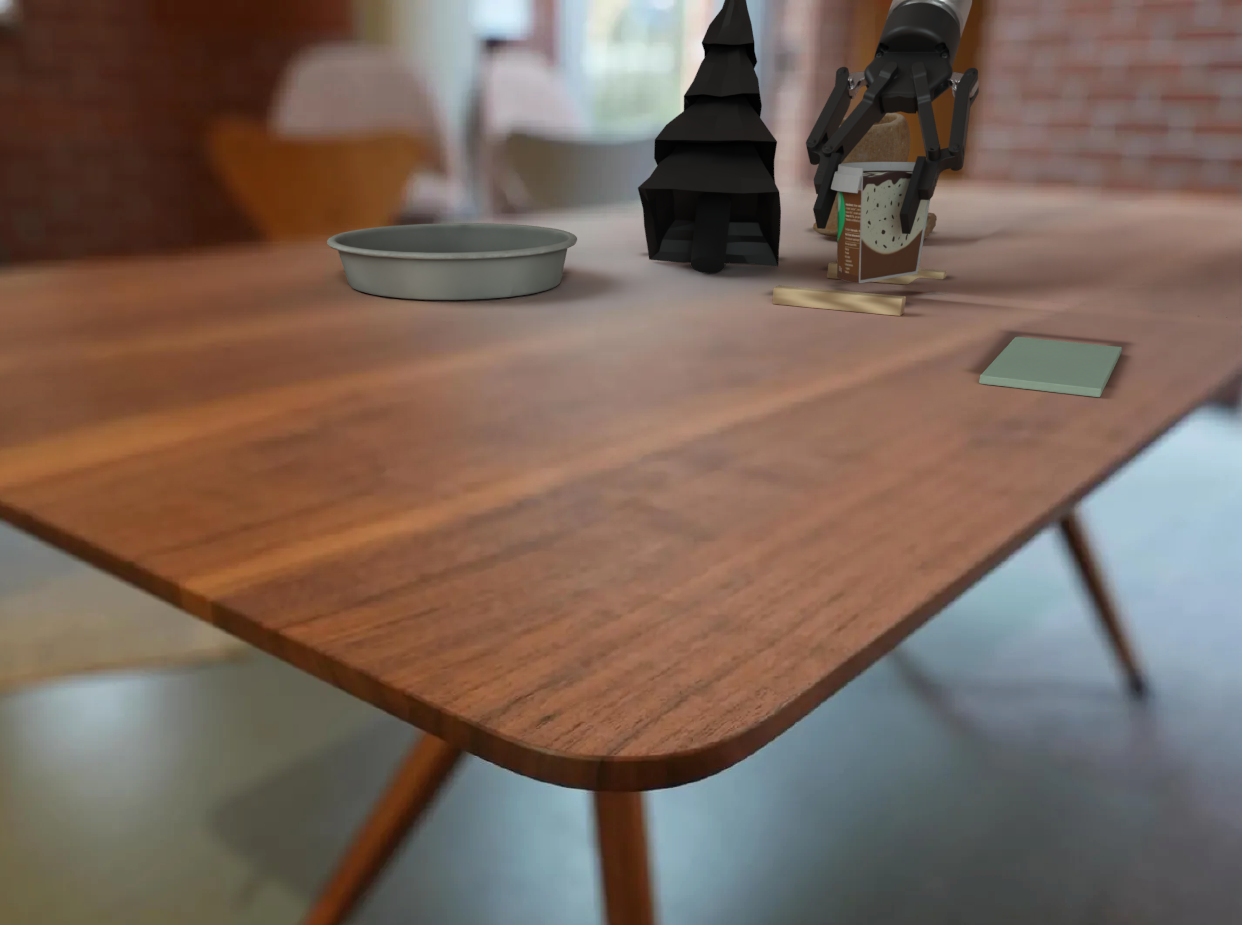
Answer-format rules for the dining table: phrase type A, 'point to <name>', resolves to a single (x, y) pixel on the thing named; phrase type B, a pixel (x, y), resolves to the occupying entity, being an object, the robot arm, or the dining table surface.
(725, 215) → the decorative tree
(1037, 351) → the mat
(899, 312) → the rack
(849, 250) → the food container
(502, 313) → the dining table surface
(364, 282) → the cake pan
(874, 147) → the stone cup
